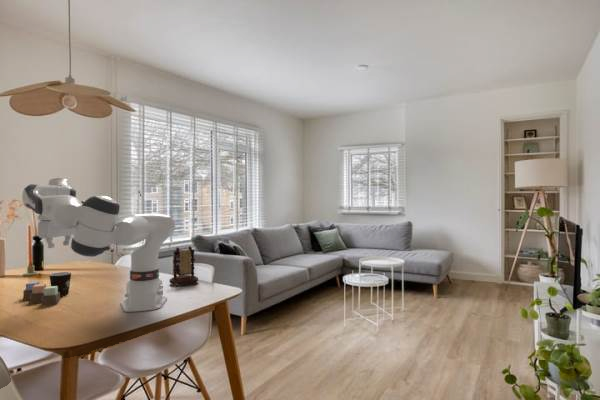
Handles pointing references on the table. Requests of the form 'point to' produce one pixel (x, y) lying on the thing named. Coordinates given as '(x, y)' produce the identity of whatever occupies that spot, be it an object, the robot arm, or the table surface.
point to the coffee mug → (61, 282)
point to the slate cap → (31, 285)
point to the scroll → (184, 267)
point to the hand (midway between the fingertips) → (58, 246)
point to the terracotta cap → (38, 288)
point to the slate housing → (26, 294)
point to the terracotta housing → (36, 297)
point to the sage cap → (50, 290)
